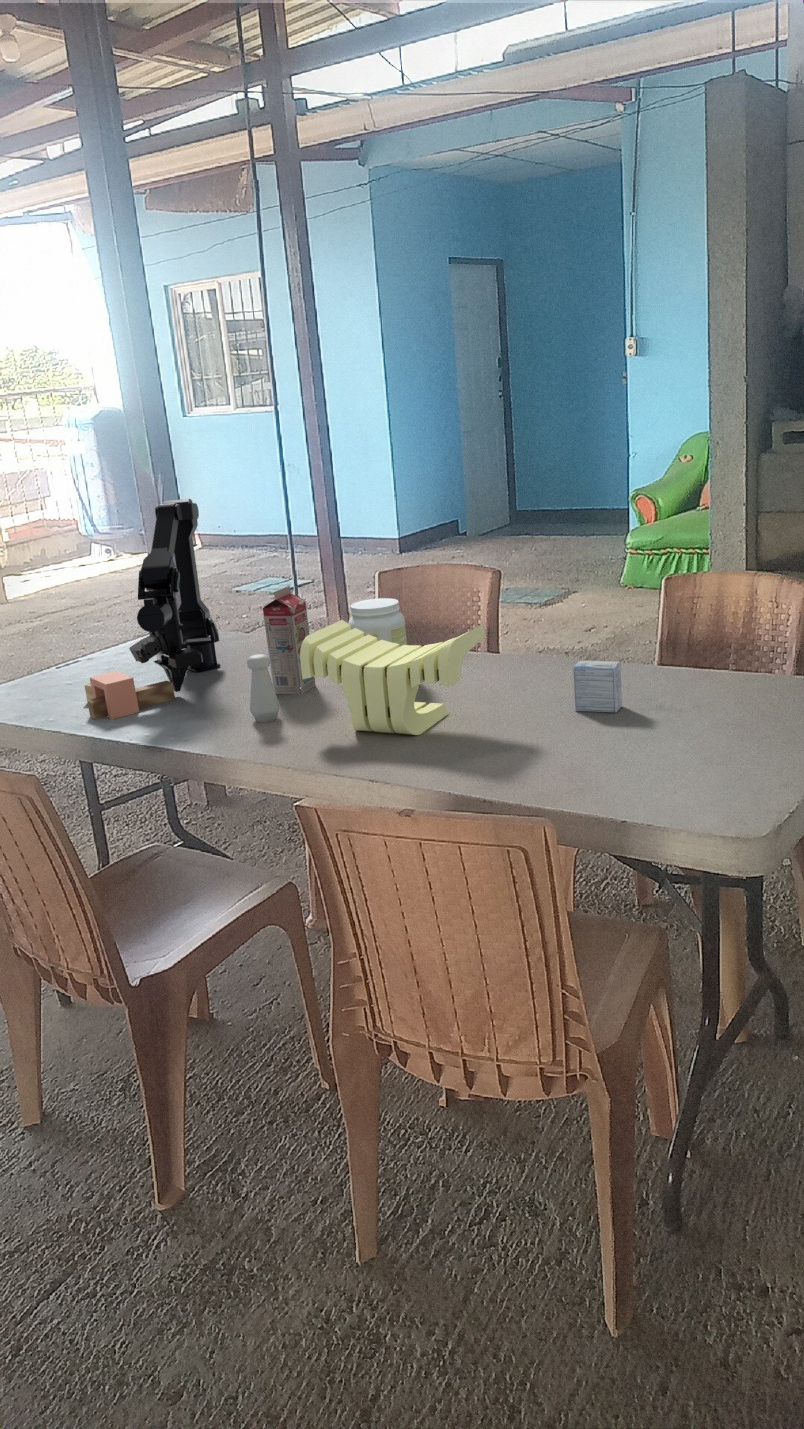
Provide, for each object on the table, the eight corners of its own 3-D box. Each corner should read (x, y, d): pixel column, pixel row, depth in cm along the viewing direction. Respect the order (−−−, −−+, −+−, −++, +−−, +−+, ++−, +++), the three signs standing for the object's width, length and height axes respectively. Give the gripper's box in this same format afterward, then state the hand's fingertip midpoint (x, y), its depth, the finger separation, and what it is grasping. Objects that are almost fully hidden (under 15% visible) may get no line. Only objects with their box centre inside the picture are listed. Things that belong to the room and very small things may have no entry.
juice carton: (273, 693, 229) (260, 592, 223) (288, 684, 235) (275, 585, 229) (301, 694, 227) (288, 591, 220) (315, 685, 233) (303, 585, 226)
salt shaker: (285, 715, 214) (277, 651, 210) (273, 724, 208) (264, 659, 205) (259, 714, 216) (250, 651, 212) (246, 723, 210) (237, 659, 207)
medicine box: (622, 706, 199) (621, 661, 197) (616, 713, 196) (615, 667, 193) (581, 704, 203) (579, 660, 200) (574, 711, 199) (572, 666, 196)
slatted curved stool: (309, 732, 202) (297, 640, 196) (351, 706, 215) (341, 619, 210) (454, 744, 188) (446, 645, 182) (490, 716, 201) (483, 623, 196)
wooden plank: (169, 698, 235) (166, 680, 234) (175, 700, 233) (172, 682, 232) (90, 718, 226) (87, 700, 224) (95, 721, 223) (92, 702, 222)
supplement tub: (398, 669, 239) (391, 594, 234) (418, 681, 228) (411, 603, 223) (346, 678, 236) (338, 603, 231) (364, 691, 225) (356, 612, 220)
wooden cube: (101, 697, 240) (98, 680, 239) (113, 699, 238) (110, 681, 236) (87, 702, 237) (84, 685, 236) (99, 704, 235) (96, 686, 233)
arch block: (122, 704, 232) (116, 670, 230) (139, 712, 225) (133, 677, 223) (95, 711, 229) (89, 677, 227) (111, 719, 222) (105, 684, 220)
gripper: (113, 623, 233) (125, 692, 237) (148, 635, 218) (161, 708, 223) (161, 613, 239) (172, 681, 244) (198, 623, 224) (209, 695, 229)
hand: (177, 691), depth 235 cm, fingers closed
